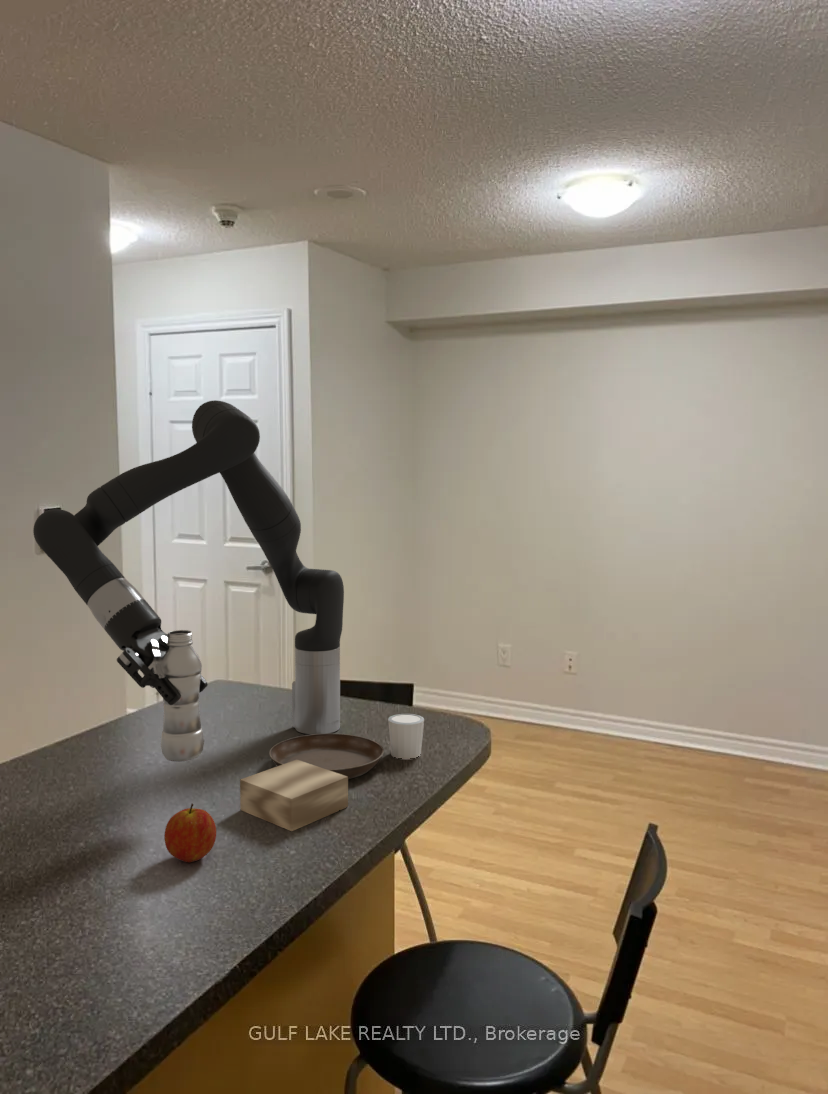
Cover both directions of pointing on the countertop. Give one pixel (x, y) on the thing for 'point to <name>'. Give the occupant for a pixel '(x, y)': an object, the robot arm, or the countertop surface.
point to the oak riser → (293, 794)
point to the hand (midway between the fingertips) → (190, 694)
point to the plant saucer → (330, 752)
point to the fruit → (190, 834)
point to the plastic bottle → (182, 700)
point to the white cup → (406, 735)
